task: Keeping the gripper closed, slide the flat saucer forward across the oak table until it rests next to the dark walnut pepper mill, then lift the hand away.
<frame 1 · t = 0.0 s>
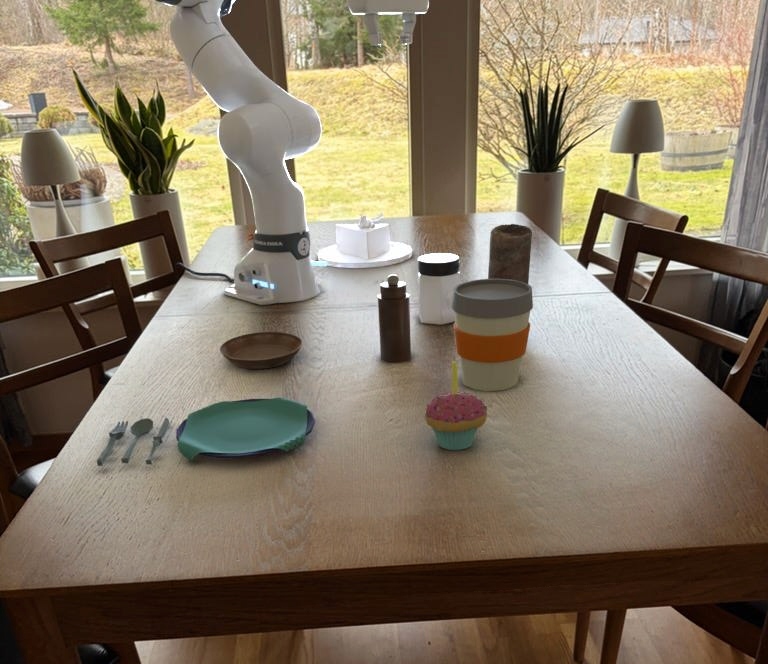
hand: (391, 44, 139), 48 cm above the table, tool pointing down, fingers open, 8 cm apart
cupcake: (456, 444, 110), on the table
pepper mill: (395, 357, 141), on the table
cutlery set: (212, 440, 114), on the table
reusable coffee cup: (490, 381, 129), on the table
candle: (505, 341, 146), on the table
jar: (438, 319, 159), on the table
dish: (365, 257, 209), on the table
saucer: (263, 359, 143), on the table
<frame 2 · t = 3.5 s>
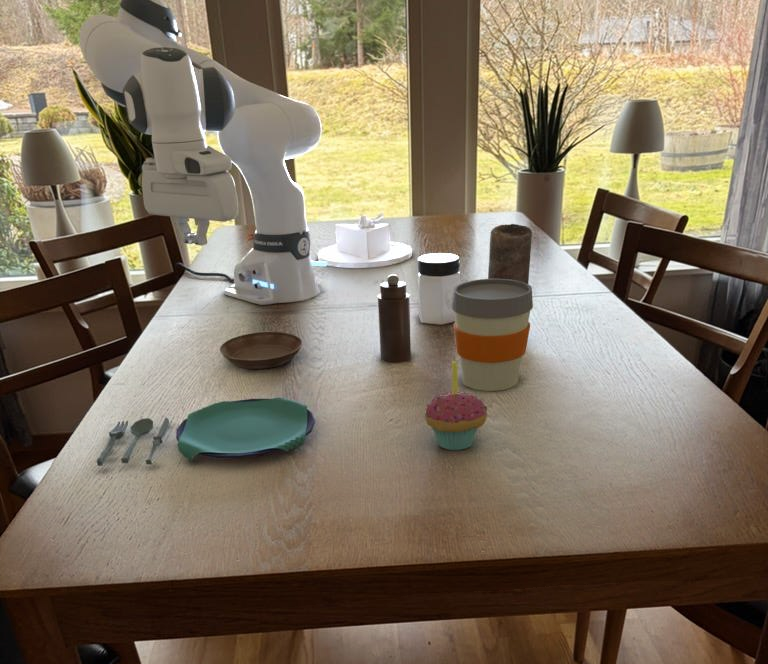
hand: (195, 244, 140), 19 cm above the table, tool pointing down, fingers closed
nothing on the table moved.
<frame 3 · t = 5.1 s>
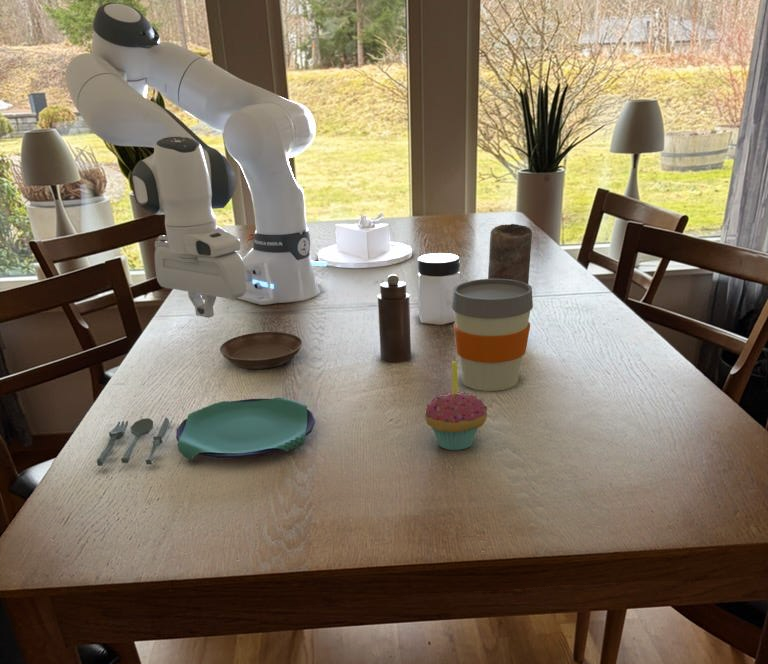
hand: (205, 316, 146), 6 cm above the table, tool pointing down, fingers closed
nothing on the table moved.
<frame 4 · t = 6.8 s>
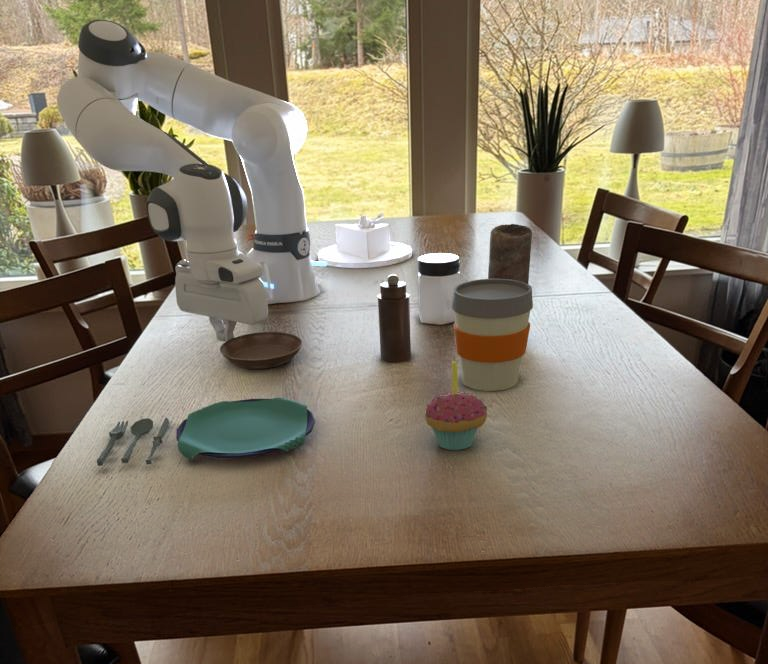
hand: (226, 340, 146), 2 cm above the table, tool pointing down, fingers closed
saucer: (263, 359, 143), on the table, touching gripper
everything else where it was.
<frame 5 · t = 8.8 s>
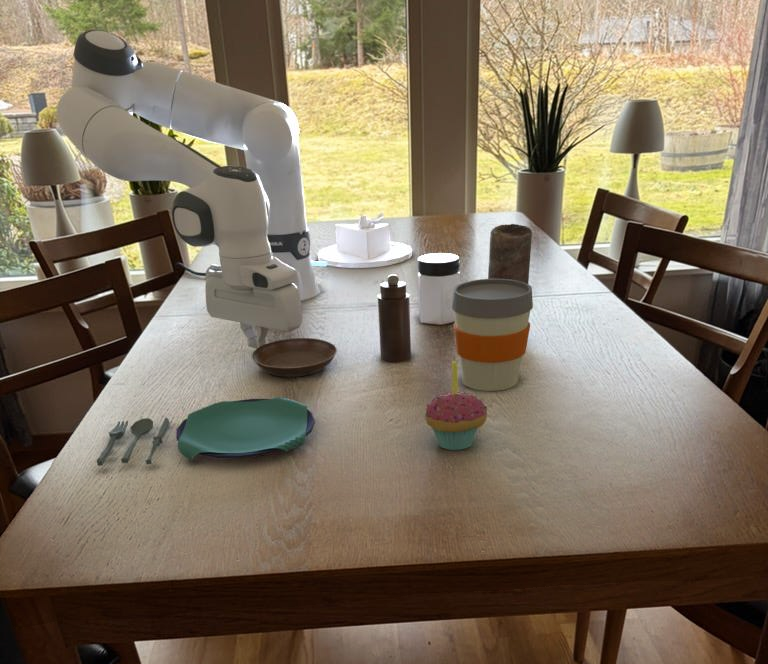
hand: (257, 347, 142), 2 cm above the table, tool pointing down, fingers closed
saucer: (296, 367, 139), on the table, touching gripper
everything else where it was.
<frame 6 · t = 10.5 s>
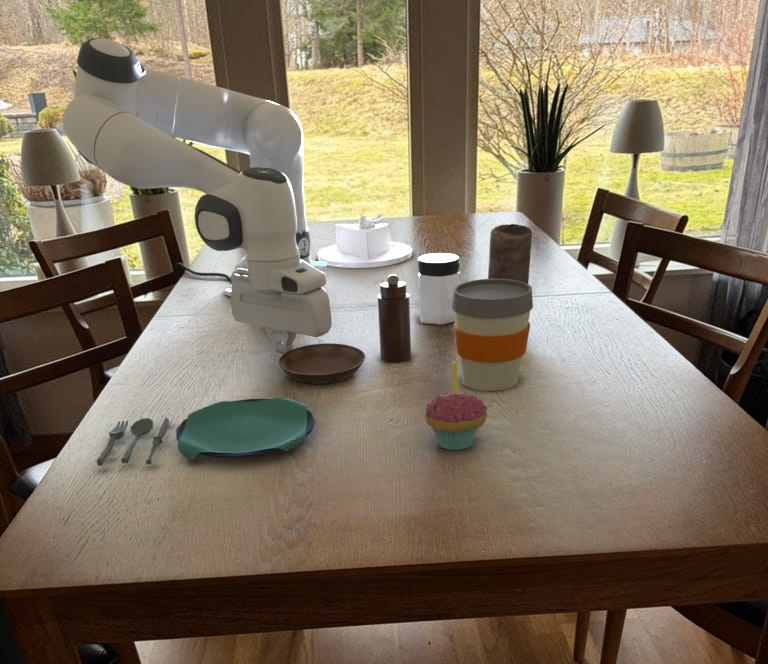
hand: (283, 352, 139), 2 cm above the table, tool pointing down, fingers closed
saucer: (323, 373, 136), on the table, touching gripper
everything else where it was.
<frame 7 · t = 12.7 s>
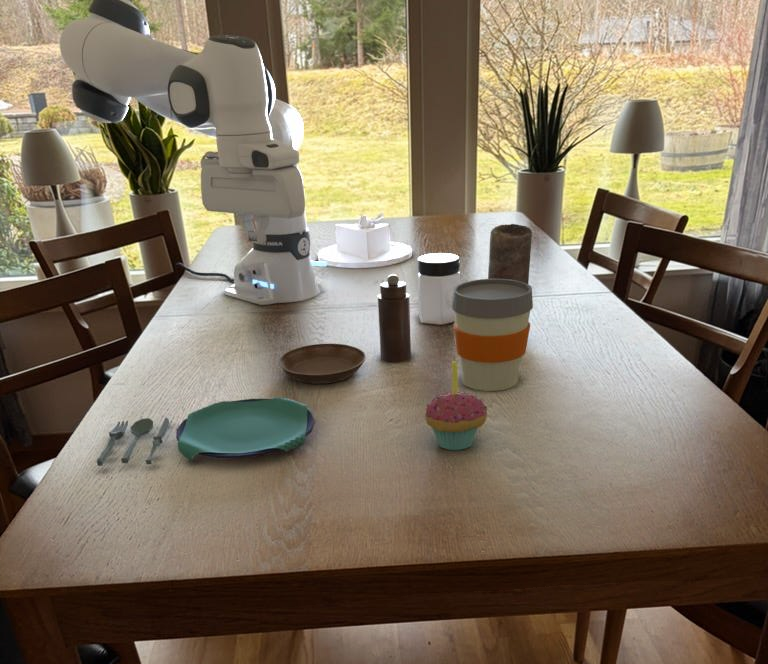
hand: (256, 242, 133), 20 cm above the table, tool pointing down, fingers closed
saucer: (323, 373, 136), on the table
everything else where it was.
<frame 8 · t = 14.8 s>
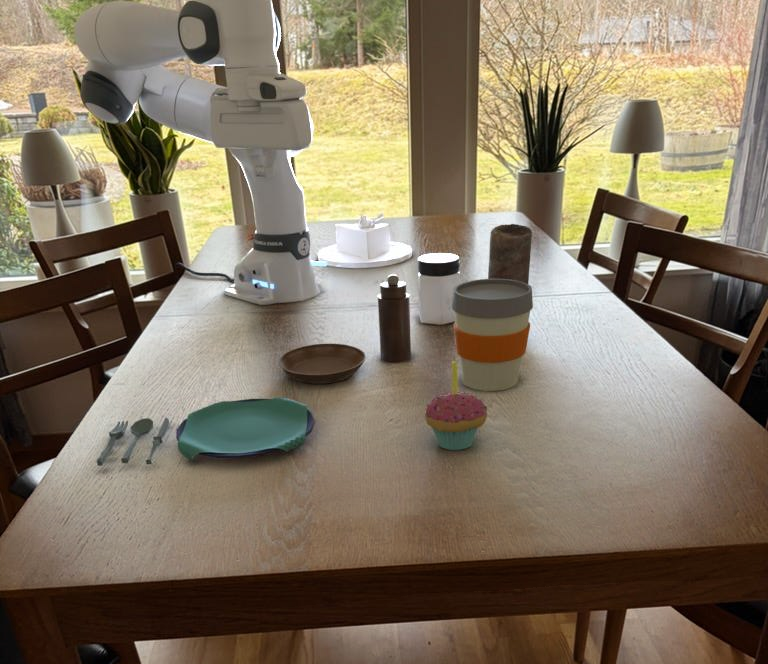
hand: (264, 177, 137), 29 cm above the table, tool pointing down, fingers closed
nothing on the table moved.
at the end: saucer 14.0 cm from the pepper mill (horizontally); saucer moved 14.2 cm from its start; pepper mill moved 0.0 cm from its start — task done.
